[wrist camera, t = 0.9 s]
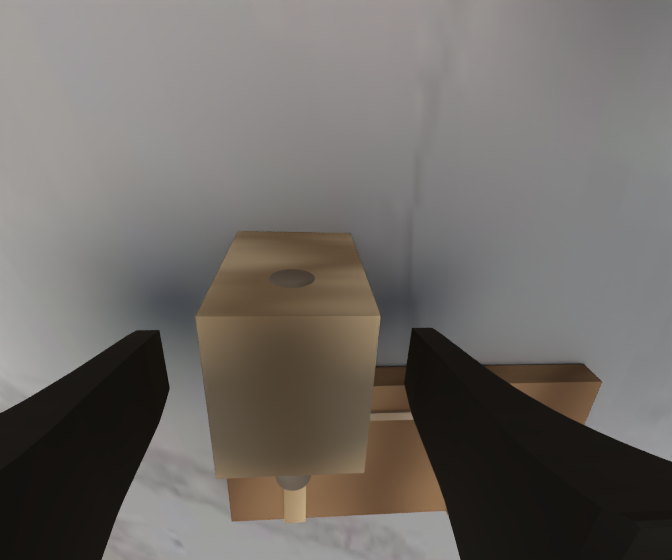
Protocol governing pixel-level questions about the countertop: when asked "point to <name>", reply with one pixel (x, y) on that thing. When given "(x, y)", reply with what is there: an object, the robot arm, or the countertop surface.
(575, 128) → the countertop surface
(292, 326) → the pale wood holed block
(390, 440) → the walnut board
